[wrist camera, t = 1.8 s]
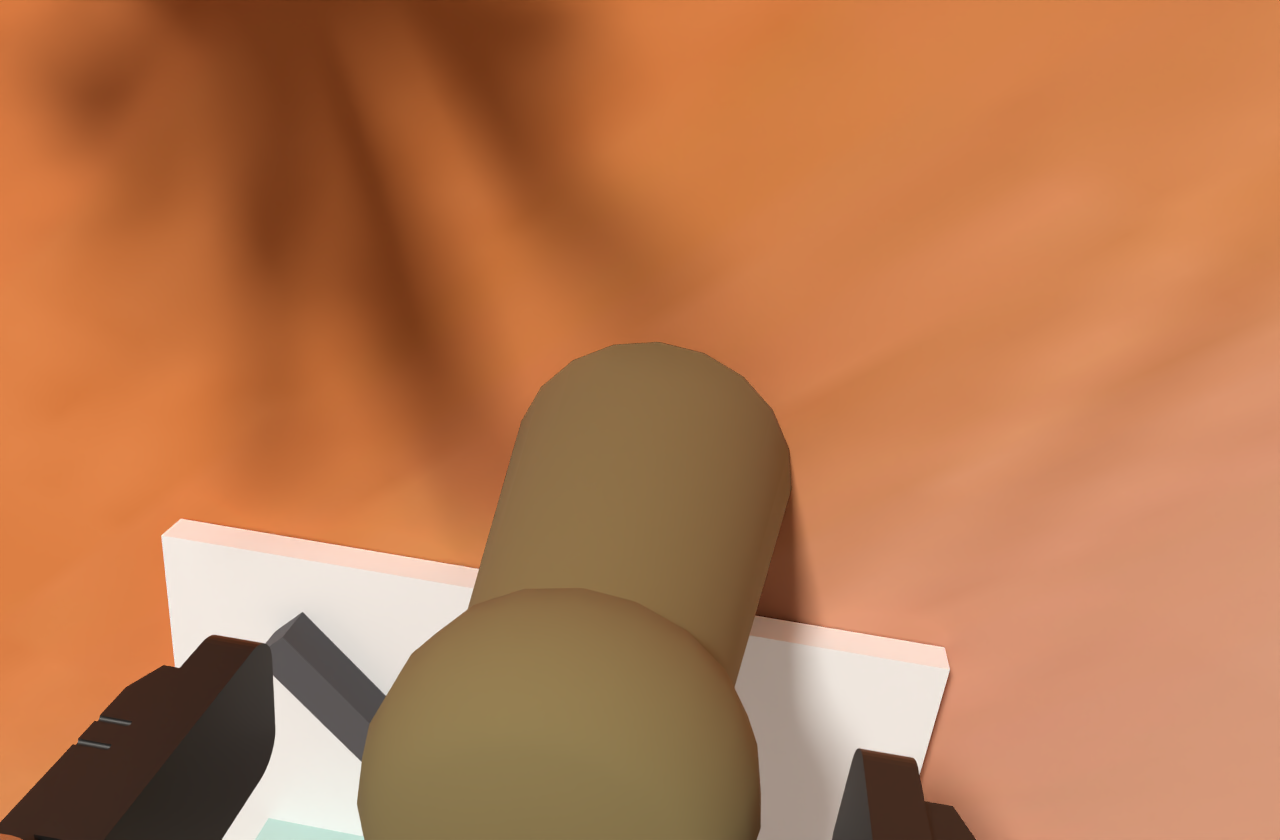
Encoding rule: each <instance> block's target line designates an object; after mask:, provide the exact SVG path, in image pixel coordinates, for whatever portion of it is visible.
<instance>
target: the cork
mask: <svg viewBox="0 0 1280 840" xmlns="http://www.w3.org/2000/svg"><path fill="white" fill-rule="evenodd" d="M790 492H791V476H790V457H789V448H788V445H787V443H786V440H785V438H784V436H783V433H782V431H781V429H780V426H779V424H778V421H777V419H776V417H775V414H774V412H773V410H772V409H771V408H770V406H769V405H768V404H767V403H766V402H765V401H764V400H763V398H762V397H761V396H760V395H759V394H758V393H757V392H756V391H755V389H754V388H753V387H752V386H751V385H750V384H749V383H748V381H747V380H746V379H745V378H744V377H743V376H741V375H740V374H738V373H736V372H735V371H733V370H731V369H730V368H728V367H726V366H725V365H723V364H721V363H720V362H718V361H716V360H715V359H713V358H711V357H710V356H708V355H706V354H705V353H701V352H697V351H693V350H689V349H685V348H681V347H677V346H673V345H669V344H665V343H661V342H652V343H635V344H617V345H612V346H609V347H606V348H604V349H601V350H599V351H596V352H594V353H591V354H588V355H586V356H583V357H581V358H578V359H575V360H573V361H572V362H570V363H569V364H568V365H567V366H566V367H565V368H563V369H562V370H561V371H560V372H559V373H557V374H556V375H555V376H554V377H553V378H551V379H550V380H549V381H548V382H547V383H546V384H544V385H543V386H542V387H541V388H540V390H539V392H538V393H537V395H536V397H535V399H534V400H533V402H532V404H531V406H530V407H529V409H528V411H527V412H526V414H525V416H524V418H523V419H522V421H521V424H520V428H519V431H518V435H517V438H516V442H515V445H514V449H513V452H512V456H511V459H510V463H509V466H508V470H507V473H506V477H505V480H504V484H503V487H502V491H501V494H500V498H499V501H498V505H497V508H496V512H495V515H494V519H493V522H492V526H491V529H490V533H489V536H488V540H487V543H486V547H485V550H484V554H483V557H482V561H481V564H480V568H479V571H478V575H477V578H476V581H475V585H474V588H473V592H472V595H471V599H470V602H469V606H468V609H467V610H466V611H465V612H463V613H462V614H461V615H459V616H458V617H457V618H456V619H454V620H453V621H452V622H450V623H449V624H448V625H446V626H445V627H444V628H442V629H441V630H440V631H438V632H437V633H436V634H434V635H433V636H432V637H431V638H430V639H428V640H427V641H426V642H425V643H424V644H423V645H421V646H420V647H419V648H418V649H417V650H415V651H414V652H413V653H412V654H411V655H410V657H409V659H408V660H407V662H406V664H405V665H404V667H403V669H402V670H401V672H400V674H399V675H398V677H397V678H396V680H395V682H394V683H393V685H392V687H391V689H390V690H389V692H388V694H387V695H386V697H385V699H384V700H383V702H382V704H381V705H380V707H379V709H378V710H377V712H376V714H375V715H374V717H373V719H372V721H371V722H370V724H369V728H368V733H367V737H366V742H365V747H364V752H363V756H362V763H361V772H360V780H359V789H358V797H357V808H358V812H359V817H360V822H361V827H362V832H363V836H364V840H757V837H758V834H759V832H760V829H761V787H760V773H759V760H758V747H757V742H756V739H755V736H754V733H753V730H752V727H751V724H750V721H749V718H748V715H747V713H746V711H745V709H744V707H743V705H742V702H741V700H740V698H739V696H738V694H737V692H736V690H735V684H736V681H737V677H738V674H739V670H740V667H741V663H742V660H743V656H744V653H745V649H746V646H747V642H748V639H749V635H750V632H751V628H752V625H753V621H754V618H755V614H756V611H757V607H758V604H759V600H760V597H761V593H762V590H763V586H764V583H765V579H766V576H767V572H768V569H769V565H770V562H771V558H772V555H773V551H774V548H775V544H776V541H777V537H778V534H779V530H780V527H781V523H782V520H783V516H784V513H785V509H786V506H787V502H788V499H789V495H790Z"/></svg>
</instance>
